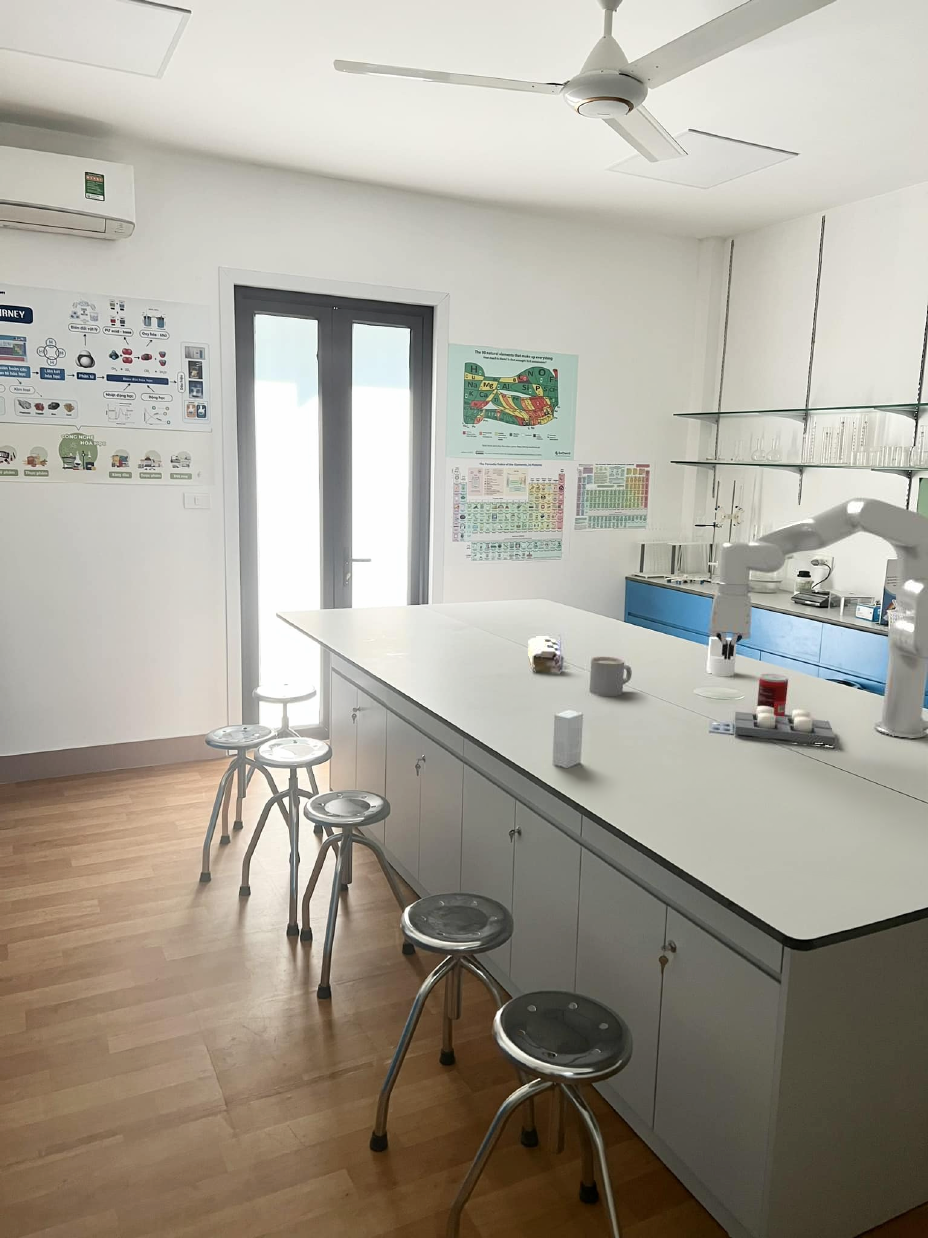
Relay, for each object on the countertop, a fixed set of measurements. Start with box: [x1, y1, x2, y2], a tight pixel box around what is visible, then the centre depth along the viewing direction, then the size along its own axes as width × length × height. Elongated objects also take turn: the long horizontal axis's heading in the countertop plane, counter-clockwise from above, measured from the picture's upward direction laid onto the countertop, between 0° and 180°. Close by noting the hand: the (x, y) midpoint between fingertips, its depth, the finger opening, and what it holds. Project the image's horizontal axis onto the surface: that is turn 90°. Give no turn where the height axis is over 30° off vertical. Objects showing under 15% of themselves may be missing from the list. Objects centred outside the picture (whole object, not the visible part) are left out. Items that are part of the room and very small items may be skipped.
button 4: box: [793, 717, 814, 733], centre depth 233 cm, size 4×4×3 cm
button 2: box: [757, 713, 776, 729], centre depth 235 cm, size 4×4×3 cm
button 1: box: [755, 706, 774, 719], centre depth 242 cm, size 4×4×3 cm
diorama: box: [527, 633, 565, 674], centre depth 309 cm, size 25×10×13 cm, turn 179°
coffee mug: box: [589, 656, 633, 697], centre depth 276 cm, size 13×10×10 cm
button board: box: [708, 711, 836, 746], centre depth 239 cm, size 30×15×3 cm, turn 74°
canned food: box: [756, 673, 789, 716], centre depth 257 cm, size 8×8×11 cm
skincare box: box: [552, 709, 584, 769], centre depth 209 cm, size 6×4×12 cm
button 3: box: [791, 709, 811, 723], centre depth 240 cm, size 4×4×3 cm
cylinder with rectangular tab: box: [706, 636, 738, 676], centre depth 306 cm, size 9×9×12 cm
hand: (727, 658), depth 239 cm, fingers closed
